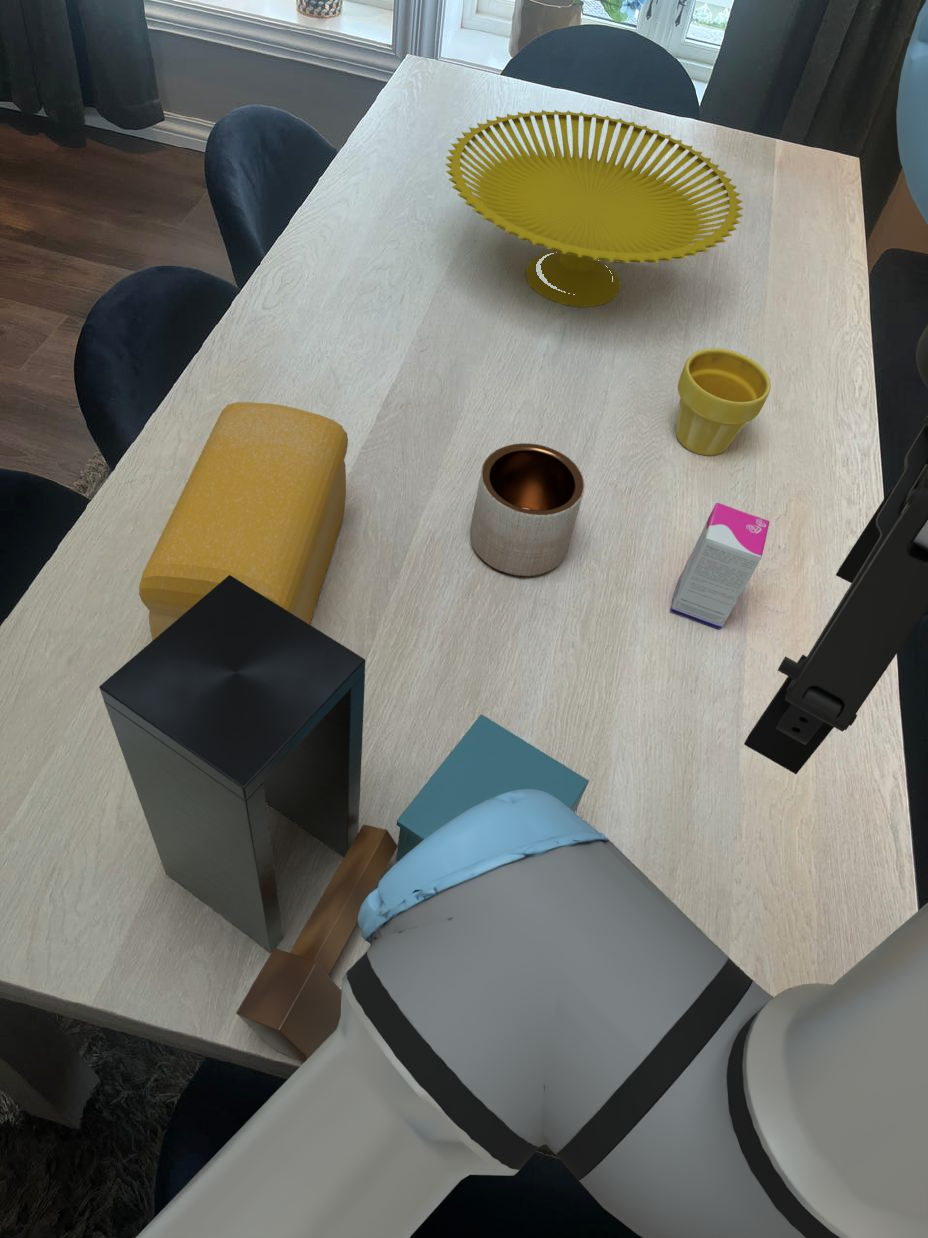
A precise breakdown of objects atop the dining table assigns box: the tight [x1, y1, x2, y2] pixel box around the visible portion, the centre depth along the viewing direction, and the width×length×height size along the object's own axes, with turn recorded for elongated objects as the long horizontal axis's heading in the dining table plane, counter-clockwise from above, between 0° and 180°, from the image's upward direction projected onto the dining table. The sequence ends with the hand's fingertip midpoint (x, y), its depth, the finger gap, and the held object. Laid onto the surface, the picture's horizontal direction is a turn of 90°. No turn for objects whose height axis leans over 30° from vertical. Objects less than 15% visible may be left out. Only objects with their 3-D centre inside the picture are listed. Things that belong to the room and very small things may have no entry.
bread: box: [138, 401, 349, 641], centre depth 88 cm, size 24×13×15 cm, turn 172°
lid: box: [395, 713, 590, 842], centre depth 73 cm, size 12×10×1 cm
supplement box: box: [669, 502, 770, 630], centre depth 94 cm, size 6×6×12 cm
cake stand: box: [445, 109, 744, 308], centre depth 129 cm, size 40×40×15 cm
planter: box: [469, 442, 585, 577], centre depth 98 cm, size 11×11×10 cm
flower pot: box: [675, 347, 772, 456], centre depth 112 cm, size 10×10×10 cm
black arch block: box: [98, 575, 366, 954], centre depth 66 cm, size 11×11×27 cm
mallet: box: [235, 823, 398, 1063], centre depth 70 cm, size 17×6×4 cm
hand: (819, 662), depth 48 cm, fingers open, 13 cm apart
